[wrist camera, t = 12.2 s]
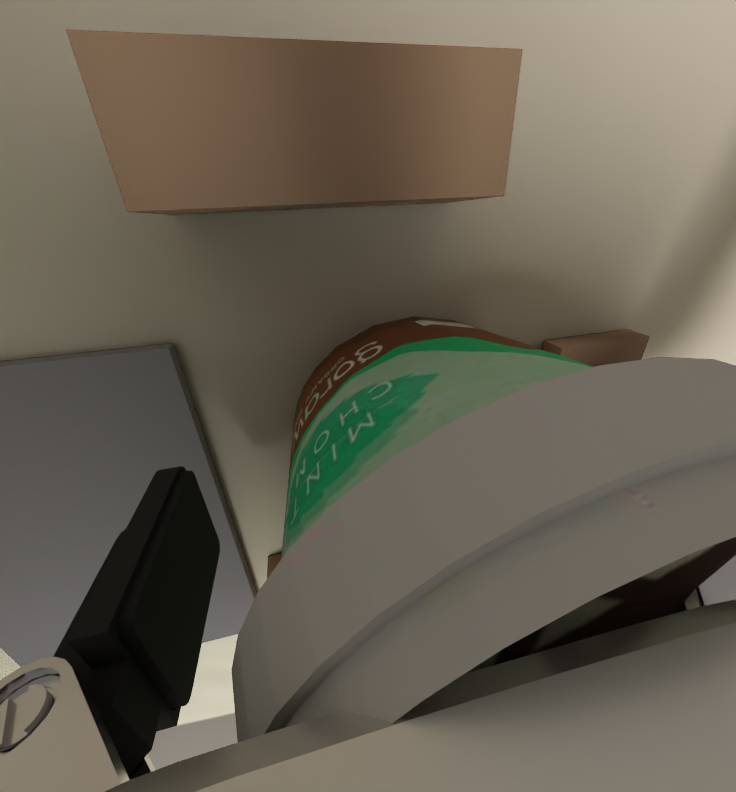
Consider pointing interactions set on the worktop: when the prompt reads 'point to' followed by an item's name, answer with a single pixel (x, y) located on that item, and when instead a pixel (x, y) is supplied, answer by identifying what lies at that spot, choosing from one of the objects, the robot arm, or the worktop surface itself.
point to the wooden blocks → (308, 130)
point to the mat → (95, 484)
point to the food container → (479, 515)
